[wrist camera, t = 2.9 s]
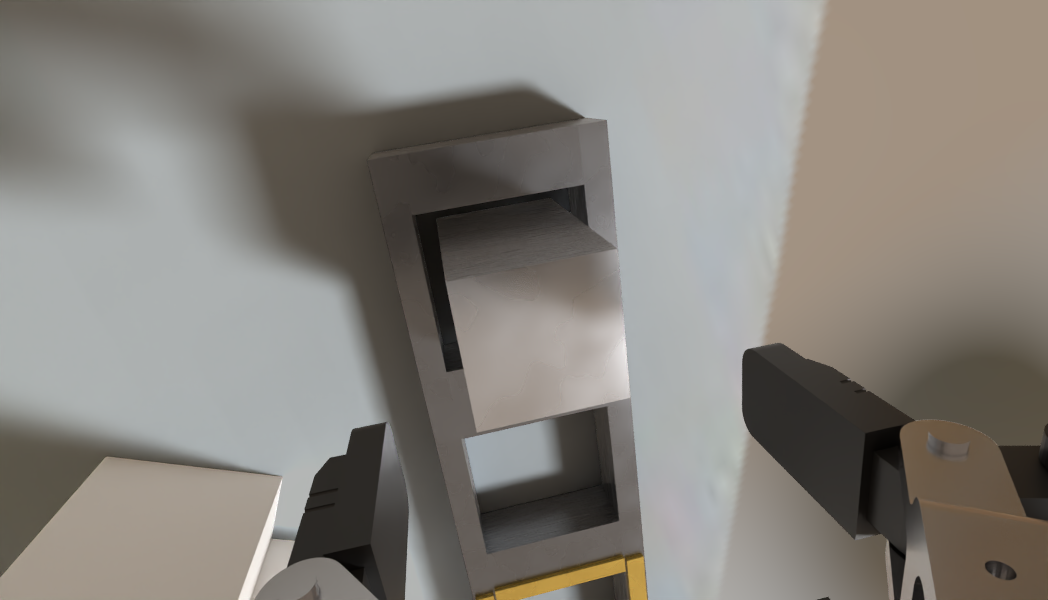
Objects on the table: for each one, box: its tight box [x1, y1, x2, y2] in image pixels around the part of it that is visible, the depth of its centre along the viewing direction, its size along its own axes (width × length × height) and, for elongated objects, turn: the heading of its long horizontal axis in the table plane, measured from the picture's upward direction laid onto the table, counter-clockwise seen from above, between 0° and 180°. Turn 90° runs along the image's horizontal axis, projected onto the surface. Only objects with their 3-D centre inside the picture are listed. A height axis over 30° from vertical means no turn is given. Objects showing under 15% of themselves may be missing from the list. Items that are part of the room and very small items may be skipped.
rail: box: [367, 118, 648, 600], centre depth 24 cm, size 28×8×3 cm, turn 8°
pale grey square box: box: [436, 198, 630, 432], centre depth 19 cm, size 4×4×8 cm
